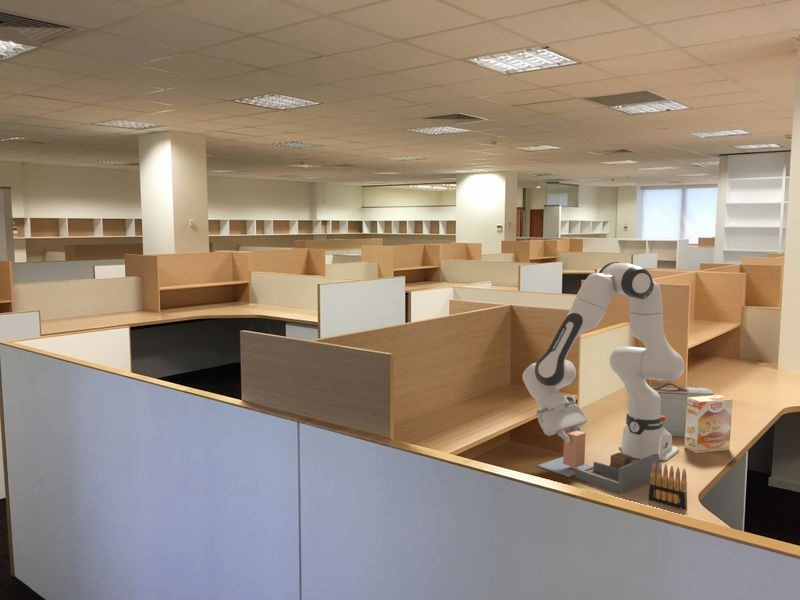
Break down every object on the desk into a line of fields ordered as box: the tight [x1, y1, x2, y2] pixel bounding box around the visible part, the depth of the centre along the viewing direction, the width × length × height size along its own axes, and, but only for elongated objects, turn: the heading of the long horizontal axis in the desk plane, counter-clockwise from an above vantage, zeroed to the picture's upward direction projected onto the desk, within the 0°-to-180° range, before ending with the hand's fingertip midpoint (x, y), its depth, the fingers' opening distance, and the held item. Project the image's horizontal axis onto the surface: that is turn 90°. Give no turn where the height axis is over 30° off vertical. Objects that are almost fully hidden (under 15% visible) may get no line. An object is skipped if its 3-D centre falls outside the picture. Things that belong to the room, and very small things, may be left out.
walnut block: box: [609, 452, 633, 469], centre depth 221 cm, size 5×5×6 cm
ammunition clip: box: [647, 462, 688, 511], centre depth 196 cm, size 11×2×12 cm, turn 49°
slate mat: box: [537, 456, 594, 478], centre depth 227 cm, size 14×13×1 cm
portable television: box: [649, 379, 714, 437], centre depth 265 cm, size 12×24×30 cm, turn 78°
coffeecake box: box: [684, 394, 734, 454], centre depth 245 cm, size 15×7×20 cm, turn 106°
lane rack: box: [574, 454, 660, 495], centre depth 216 cm, size 21×17×8 cm
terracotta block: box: [562, 429, 586, 468], centre depth 223 cm, size 5×5×11 cm
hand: (576, 440), depth 222 cm, fingers closed on terracotta block, 5 cm apart
